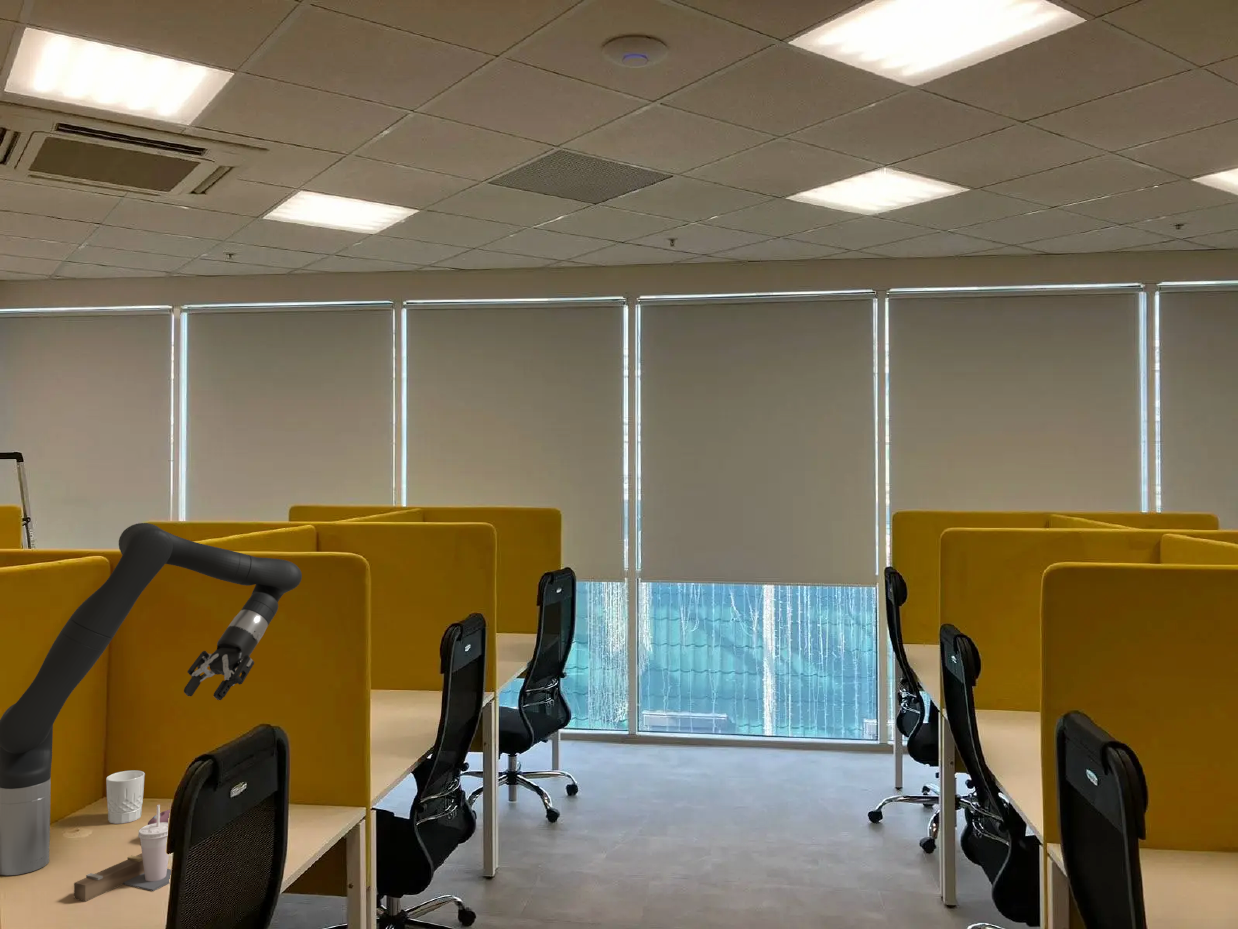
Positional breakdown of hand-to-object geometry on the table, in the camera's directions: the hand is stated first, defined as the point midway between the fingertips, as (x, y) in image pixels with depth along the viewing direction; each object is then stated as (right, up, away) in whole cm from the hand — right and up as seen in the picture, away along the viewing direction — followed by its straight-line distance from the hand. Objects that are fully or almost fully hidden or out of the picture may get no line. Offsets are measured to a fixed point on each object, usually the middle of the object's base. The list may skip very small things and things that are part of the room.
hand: (201, 696), depth 195 cm
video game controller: (-9, -33, +6) cm, 35 cm away
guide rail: (-9, -32, -17) cm, 38 cm away
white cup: (-26, -33, +16) cm, 45 cm away
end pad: (-2, -32, -16) cm, 36 cm away
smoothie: (-2, -32, -16) cm, 36 cm away
